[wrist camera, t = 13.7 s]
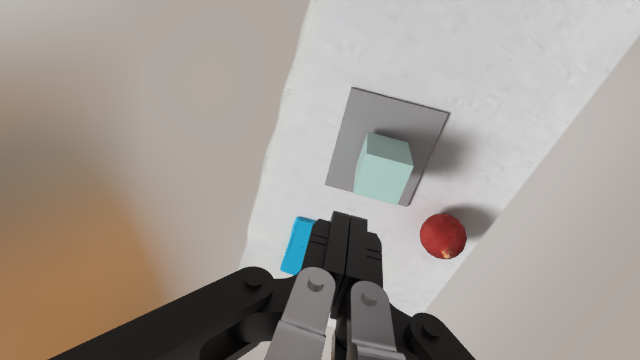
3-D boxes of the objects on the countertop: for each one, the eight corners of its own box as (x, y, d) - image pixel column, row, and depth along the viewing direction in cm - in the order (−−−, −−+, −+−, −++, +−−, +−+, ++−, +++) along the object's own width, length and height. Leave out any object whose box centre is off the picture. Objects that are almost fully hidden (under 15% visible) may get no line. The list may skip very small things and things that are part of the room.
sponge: (333, 228, 50) (296, 219, 49) (312, 281, 56) (278, 273, 55) (333, 222, 51) (297, 213, 50) (312, 274, 57) (279, 266, 57)
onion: (468, 215, 46) (485, 254, 39) (441, 241, 49) (452, 282, 42) (434, 195, 46) (445, 231, 39) (408, 223, 48) (415, 261, 41)
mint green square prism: (367, 131, 41) (366, 153, 35) (407, 142, 41) (413, 166, 35) (355, 167, 44) (353, 193, 38) (393, 177, 43) (397, 205, 38)
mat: (351, 87, 40) (351, 88, 40) (447, 112, 40) (448, 113, 39) (325, 183, 47) (324, 184, 47) (406, 205, 47) (406, 206, 47)
